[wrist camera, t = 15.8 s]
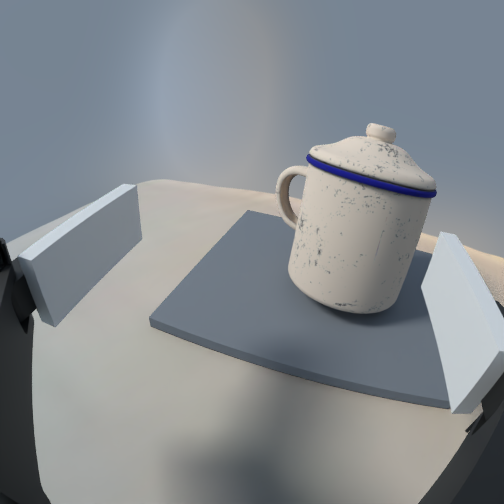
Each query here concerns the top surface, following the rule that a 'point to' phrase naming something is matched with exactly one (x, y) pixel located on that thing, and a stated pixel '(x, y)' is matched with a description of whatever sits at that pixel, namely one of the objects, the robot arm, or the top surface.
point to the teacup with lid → (356, 220)
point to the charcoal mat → (304, 319)
